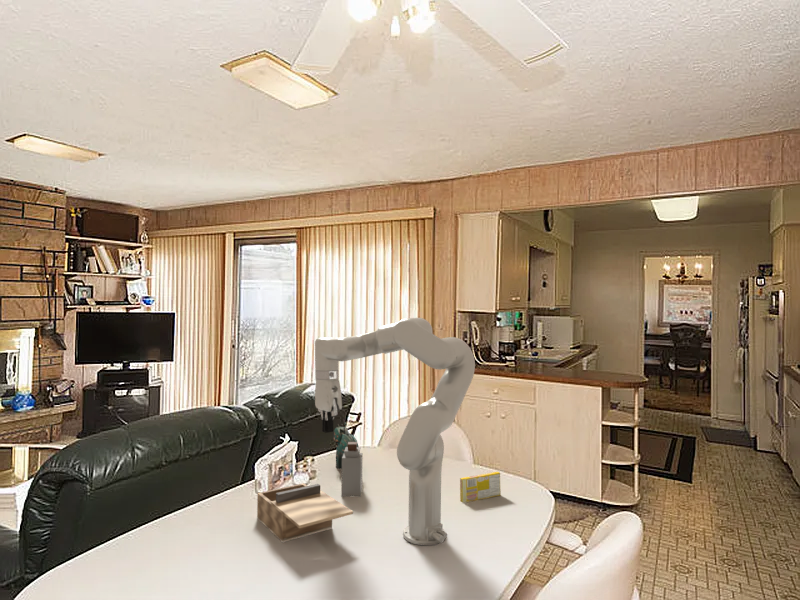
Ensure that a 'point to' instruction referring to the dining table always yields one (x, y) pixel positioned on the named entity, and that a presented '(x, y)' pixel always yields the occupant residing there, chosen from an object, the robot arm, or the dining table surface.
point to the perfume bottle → (351, 471)
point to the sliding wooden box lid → (309, 506)
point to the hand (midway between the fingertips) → (327, 431)
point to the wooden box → (279, 522)
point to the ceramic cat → (342, 443)
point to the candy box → (480, 487)
